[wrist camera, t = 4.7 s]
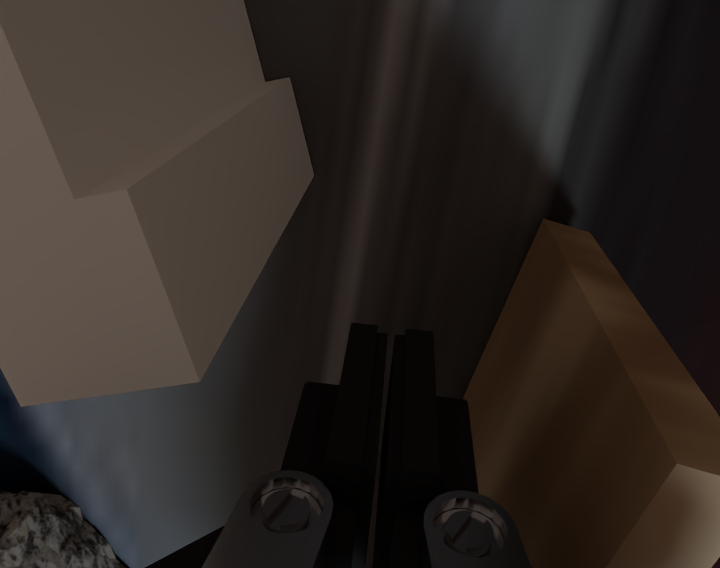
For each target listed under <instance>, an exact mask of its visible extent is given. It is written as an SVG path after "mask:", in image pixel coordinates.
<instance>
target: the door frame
mask: <svg viewBox="0 0 720 568" xmlns="http://www.w3.org/2000/svg"><path fill="white" fill-rule="evenodd" d="M313 177H314V172H313V168H312V164H311V160H310V156H309V152H308V148H307V144H306V140H305V136H304V132H303V128H302V124H301V120H300V116H299V112H298V108H297V104H296V100H295V96H294V92H293V88H292V84H291V80H290V77H287V78H282V79H277V80H273V81H268V82H265V79H264V75H263V71H262V68H261V64H260V60H259V56H258V53H257V49H256V45H255V41H254V38H253V34H252V30H251V26H250V22H249V19H248V15H247V11H246V7H245V4H244V0H0V368H1V370H2V372H3V374H4V376H5V378H6V380H7V381H8V383H9V385H10V387H11V389H12V391H13V393H14V395H15V396H16V398H17V400H18V402H19V404H20V406H21V407H23V406H30V405H37V404H45V403H52V402H59V401H66V400H74V399H81V398H88V397H96V396H103V395H110V394H117V393H125V392H132V391H139V390H147V389H154V388H161V387H168V386H176V385H183V384H190V383H198V382H200V381H201V380H202V378H203V376H204V374H205V372H206V371H207V369H208V367H209V365H210V363H211V361H212V360H213V358H214V356H215V354H216V352H217V351H218V349H219V347H220V345H221V343H222V342H223V340H224V338H225V336H226V334H227V333H228V331H229V329H230V327H231V325H232V323H233V322H234V320H235V318H236V316H237V314H238V313H239V311H240V309H241V307H242V305H243V304H244V302H245V300H246V298H247V296H248V295H249V293H250V291H251V289H252V287H253V286H254V284H255V282H256V280H257V278H258V276H259V275H260V273H261V271H262V269H263V267H264V266H265V264H266V262H267V260H268V258H269V257H270V255H271V253H272V251H273V249H274V248H275V246H276V244H277V242H278V240H279V238H280V237H281V235H282V233H283V231H284V229H285V228H286V226H287V224H288V222H289V220H290V219H291V217H292V215H293V213H294V211H295V210H296V208H297V206H298V204H299V202H300V200H301V199H302V197H303V195H304V193H305V191H306V190H307V188H308V186H309V184H310V182H311V181H312V179H313Z"/></svg>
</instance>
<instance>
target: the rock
mask: <svg viewBox="0 0 720 568" xmlns="http://www.w3.org/2000/svg"><path fill="white" fill-rule="evenodd" d="M0 568H126V567H125V566H123V565H122V564H121V563H120V562H119V561H118V560H117V559H116V557H115V555H114V553H113V550H112V548H111V547H110V545H109V543H108V542H107V540H106V539H105V538H104V537H102V536H101V535H100V534H98V533H97V532H96V531H95V529H94V528H93V527H92V526H91V525H90V524H88V523H87V522H86V521H85V520H83V517H82V514H81V511H80V508H79V507H78V506H77V505H75V504H74V503H73V502H71V501H69V500H68V499H66V498H64V497H62V496H61V495H55V494H47V493H37V492H27V491H22V492H20V493H16V494H13V493H9V492H5V491H1V490H0Z"/></svg>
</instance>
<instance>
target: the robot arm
mask: <svg viewBox="0 0 720 568" xmlns="http://www.w3.org/2000/svg"><path fill="white" fill-rule="evenodd" d="M377 330H378V325H369V324H359V323H351V328H350V333H349V338H348V343H347V349H346V354H345V359H344V364H343V369H342V375H341V380H340V385H332V384H323V383H314V382H306V383H305V385H304V388H303V392H302V395H301V399H300V403H299V406H298V410H297V413H296V417H295V420H294V424H293V428H292V431H291V435H290V438H289V442H288V446H287V449H286V453H285V456H284V460H283V464H282V467H281V471H275V472H271V473H269V474H266V475H263V476H261V477H259V478H258V479H256V480H255V481H254V482H252V483H251V484H250V485H249V486H248V487H247V489H246V490H245V491H244V492H243V494H242V496H241V498H240V499H239V501H238V503H237V505H236V507H235V508H234V510H233V512H232V514H231V516H230V517H229V519H228V521H227V523H226V525H224V526H223V527H221V528H219V529H217V530H215V531H213V532H211V533H209V534H207V535H206V536H204V537H202V538H200V539H198V540H196V541H194V542H192V543H191V544H189V545H187V546H185V547H183V548H181V549H179V550H177V551H175V552H174V553H172V554H170V555H168V556H166V557H164V558H162V559H160V560H159V561H157V562H155V563H153V564H151V565H149V566H147V567H145V568H365V562H366V553H367V544H368V535H369V527H370V518H371V509H372V501H373V492H374V483H375V474H376V464H377V454H378V442H379V430H380V419H381V407H382V395H383V383H384V372H385V360H386V348H387V337H388V334H386V333H377ZM373 568H533V567H532V566H531V565H530V562H529V559H528V556H527V554H526V551H525V548H524V545H523V543H522V540H521V537H520V534H519V532H518V529H517V526H516V524H515V522H514V521H513V519H512V517H511V515H510V514H509V513H508V512H507V511H506V510H505V509H504V508H503V507H502V506H501V505H500V504H499V503H497V502H495V501H494V500H492V499H491V498H489V497H487V496H484V495H481V494H479V492H478V483H477V475H476V466H475V458H474V449H473V441H472V432H471V424H470V416H469V407H468V402H467V400H465V399H456V398H447V397H438V396H436V382H435V359H434V337H433V331H424V330H414V329H406V333H405V336H404V335H395V339H394V347H393V355H392V364H391V372H390V381H389V389H388V398H387V406H386V415H385V423H384V432H383V441H382V451H381V463H380V476H379V489H378V502H377V515H376V529H375V542H374V555H373Z"/></svg>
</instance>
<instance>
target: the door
mask: <svg viewBox="0 0 720 568" xmlns="http://www.w3.org/2000/svg"><path fill="white" fill-rule="evenodd" d="M463 399H465V400H467V402H468V407H469V416H470V424H471V432H472V441H473V449H474V458H475V466H476V475H477V483H478V492H479V494H481V495H484V496H487V497H489V498H491V499H492V500H494V501H495V502H497V503H499V504H500V505H501V506H502V507H503V508H504V509H505V510H506V511H507V512H508V513H509V514H510V515H511V517H512V519H513V521H514V522H515V524H516V526H517V529H518V532H519V534H520V537H521V540H522V543H523V545H524V548H525V551H526V554H527V556H528V559H529V562H530V565H531V566H532V567H533V568H711V567H712V566H713V565H714V563H715V562H716V561H717V559H718V558H719V557H720V417H719V415H718V414H717V413H716V411H715V410H714V408H713V407H712V405H711V404H710V403H709V401H708V400H707V398H706V397H705V395H704V394H703V393H702V391H701V390H700V388H699V387H698V386H697V384H696V383H695V381H694V380H693V378H692V377H691V376H690V374H689V373H688V371H687V370H686V369H685V367H684V366H683V364H682V363H681V361H680V360H679V359H678V357H677V356H676V354H675V353H674V351H673V350H672V349H671V347H670V346H669V344H668V343H667V342H666V340H665V339H664V337H663V336H662V334H661V333H660V332H659V330H658V329H657V327H656V326H655V325H654V323H653V322H652V320H651V319H650V317H649V316H648V315H647V313H646V312H645V310H644V309H643V307H642V306H641V305H640V303H639V302H638V300H637V299H636V298H635V296H634V295H633V293H632V292H631V290H630V289H629V288H628V286H627V285H626V283H625V282H624V281H623V279H622V278H621V276H620V275H619V273H618V272H617V271H616V269H615V268H614V266H613V265H612V263H611V262H610V261H609V259H608V258H607V256H606V255H605V254H604V252H603V251H602V249H601V248H600V246H599V245H598V244H597V242H596V241H595V239H594V238H593V237H592V235H591V234H590V233H589V232H586V231H583V230H579V229H576V228H573V227H570V226H566V225H563V224H560V223H557V222H553V221H550V220H547V219H543V220H542V222H541V224H540V227H539V229H538V231H537V233H536V236H535V238H534V240H533V242H532V245H531V247H530V249H529V251H528V254H527V256H526V258H525V260H524V262H523V265H522V267H521V269H520V271H519V274H518V276H517V278H516V280H515V283H514V285H513V287H512V289H511V292H510V294H509V296H508V298H507V301H506V303H505V305H504V307H503V310H502V312H501V314H500V316H499V319H498V321H497V323H496V325H495V327H494V330H493V332H492V334H491V336H490V339H489V341H488V343H487V345H486V348H485V350H484V352H483V354H482V357H481V359H480V361H479V363H478V366H477V368H476V370H475V372H474V375H473V377H472V379H471V381H470V384H469V386H468V388H467V390H466V393H465V395H464V397H463Z"/></svg>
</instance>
